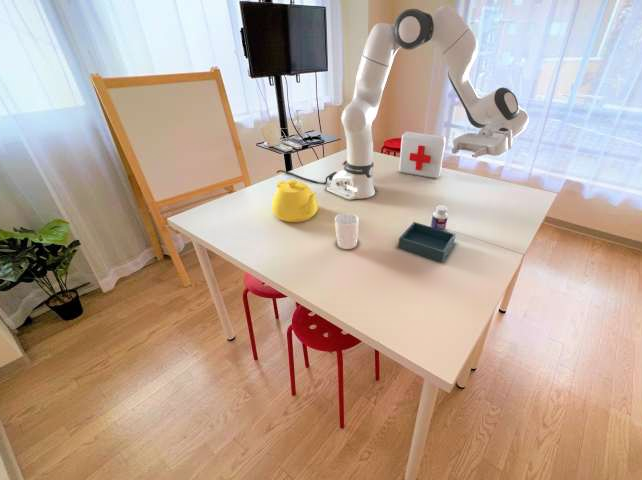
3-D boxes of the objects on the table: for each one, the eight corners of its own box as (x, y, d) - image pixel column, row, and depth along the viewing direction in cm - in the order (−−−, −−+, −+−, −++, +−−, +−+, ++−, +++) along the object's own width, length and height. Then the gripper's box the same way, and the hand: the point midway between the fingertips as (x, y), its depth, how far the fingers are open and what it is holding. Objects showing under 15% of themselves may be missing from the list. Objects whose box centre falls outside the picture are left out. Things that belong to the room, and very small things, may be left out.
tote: (398, 247, 105) (399, 237, 102) (412, 231, 114) (413, 221, 111) (442, 262, 99) (444, 252, 96) (453, 243, 108) (455, 234, 105)
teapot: (335, 218, 120) (333, 185, 112) (297, 234, 110) (293, 200, 102) (298, 197, 134) (294, 167, 126) (261, 210, 124) (255, 178, 116)
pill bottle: (436, 236, 111) (440, 212, 106) (427, 229, 115) (431, 206, 110) (447, 232, 113) (452, 209, 108) (438, 225, 117) (442, 203, 112)
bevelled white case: (397, 173, 159) (400, 134, 148) (401, 168, 166) (405, 130, 154) (437, 180, 153) (443, 140, 142) (440, 175, 159) (447, 136, 148)
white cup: (355, 251, 102) (355, 226, 96) (332, 248, 103) (331, 223, 98) (360, 239, 109) (361, 214, 103) (339, 236, 110) (338, 211, 104)
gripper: (468, 126, 116) (440, 141, 112) (515, 130, 100) (485, 148, 96) (470, 142, 119) (443, 157, 116) (515, 148, 103) (487, 166, 100)
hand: (462, 153), depth 106 cm, fingers open, 8 cm apart
